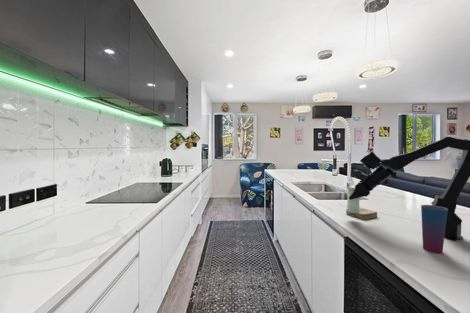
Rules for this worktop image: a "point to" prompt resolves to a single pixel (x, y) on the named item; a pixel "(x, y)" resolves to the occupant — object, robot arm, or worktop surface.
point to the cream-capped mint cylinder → (352, 201)
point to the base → (363, 214)
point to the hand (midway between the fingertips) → (350, 197)
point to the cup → (433, 227)
